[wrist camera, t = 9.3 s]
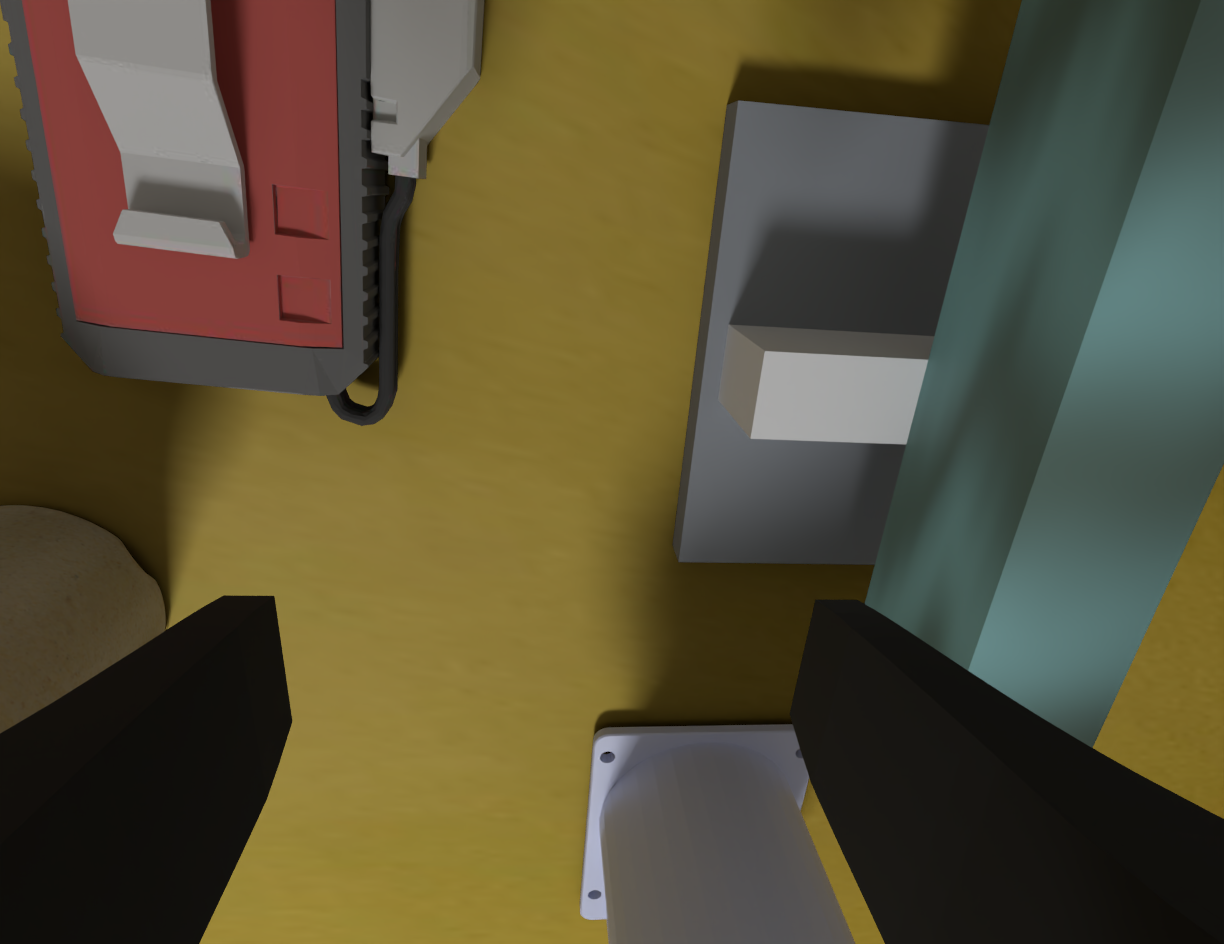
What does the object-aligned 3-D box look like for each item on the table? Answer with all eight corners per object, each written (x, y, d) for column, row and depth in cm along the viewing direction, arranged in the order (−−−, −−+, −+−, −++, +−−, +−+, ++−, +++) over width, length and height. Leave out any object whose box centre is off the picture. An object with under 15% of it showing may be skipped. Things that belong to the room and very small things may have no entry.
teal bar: (962, 683, 19) (1066, 805, 15) (843, 684, 18) (919, 809, 15) (1199, 0, 12) (1472, -76, 9) (1027, -21, 12) (1240, -111, 8)
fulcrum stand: (1029, 551, 22) (1126, 623, 18) (672, 545, 21) (701, 622, 17) (1174, 148, 17) (1343, 139, 14) (726, 105, 16) (782, 81, 12)
